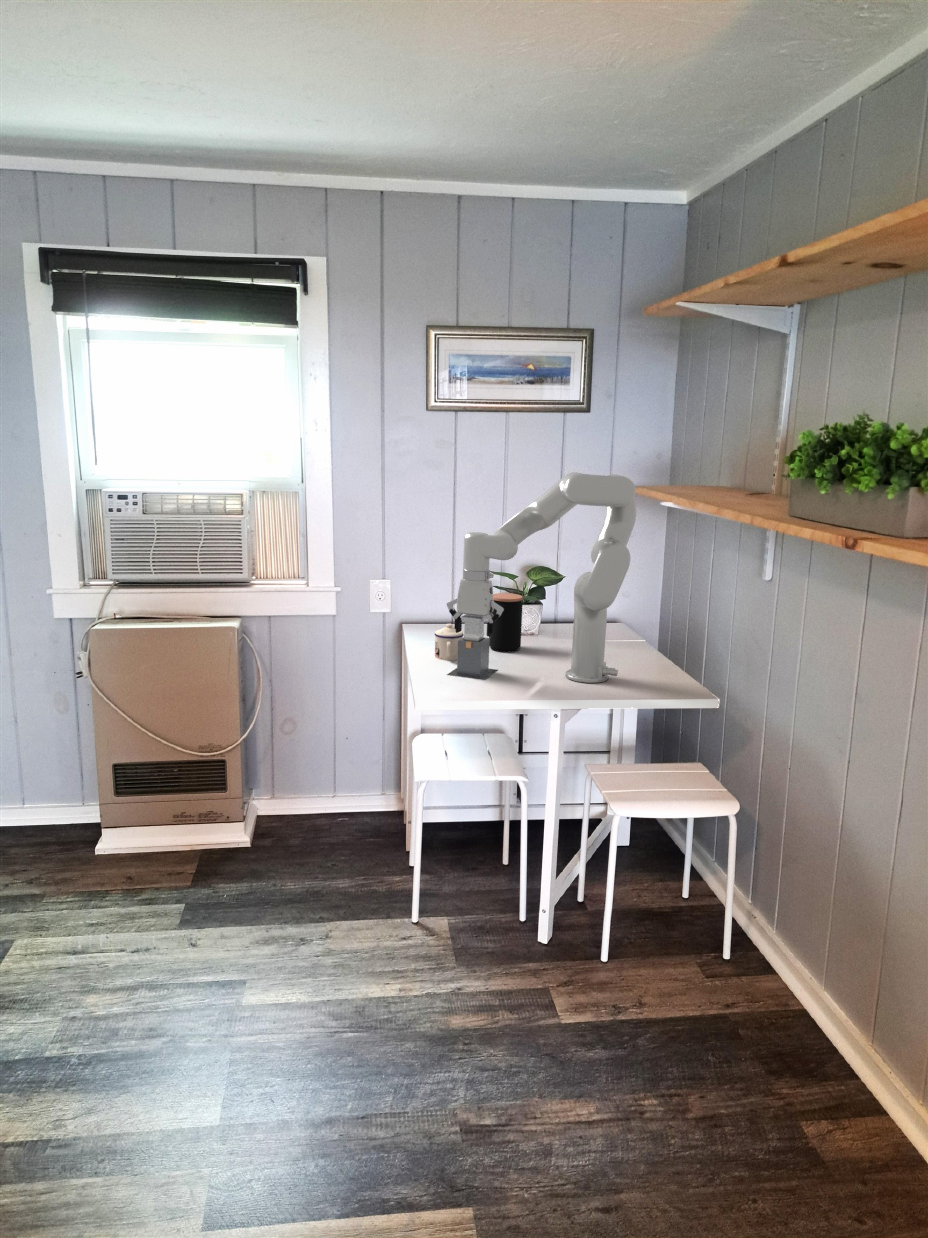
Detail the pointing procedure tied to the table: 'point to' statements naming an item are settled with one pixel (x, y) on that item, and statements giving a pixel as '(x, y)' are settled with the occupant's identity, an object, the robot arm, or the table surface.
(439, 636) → the teacup with lid
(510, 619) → the coffee jar
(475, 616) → the column
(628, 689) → the table surface
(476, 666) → the stand
